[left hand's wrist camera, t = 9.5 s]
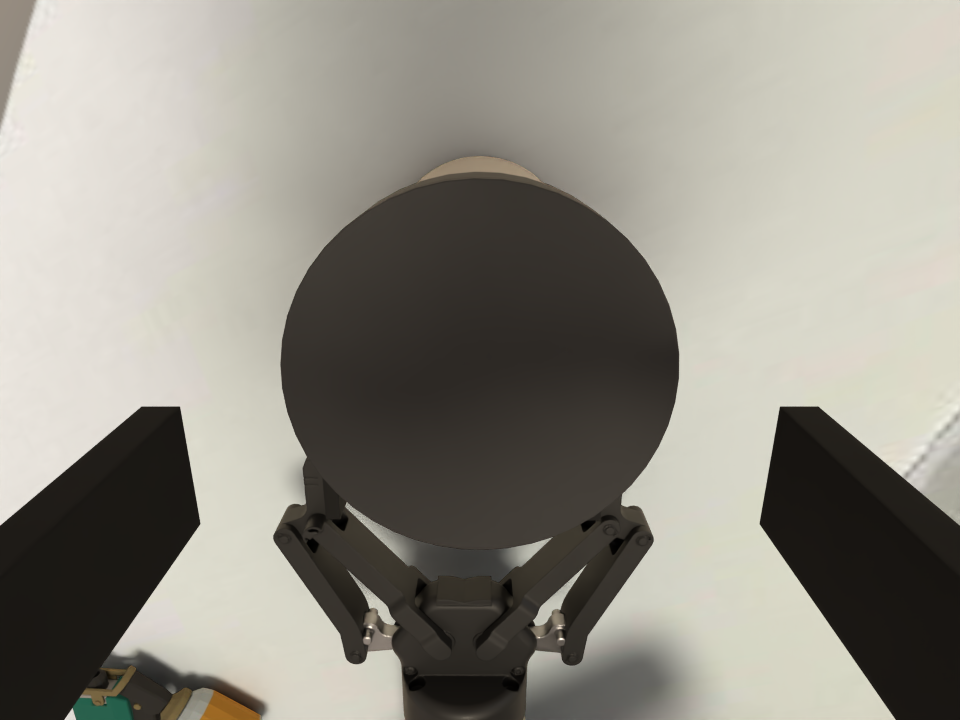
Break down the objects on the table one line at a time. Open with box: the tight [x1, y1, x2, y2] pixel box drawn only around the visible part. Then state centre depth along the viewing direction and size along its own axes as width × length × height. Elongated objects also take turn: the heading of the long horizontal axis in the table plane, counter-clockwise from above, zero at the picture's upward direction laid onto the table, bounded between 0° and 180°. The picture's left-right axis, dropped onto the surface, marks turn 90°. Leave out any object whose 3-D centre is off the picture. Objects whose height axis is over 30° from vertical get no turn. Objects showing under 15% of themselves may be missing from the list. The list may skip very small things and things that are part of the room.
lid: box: [281, 172, 679, 550], centre depth 18 cm, size 11×11×2 cm
